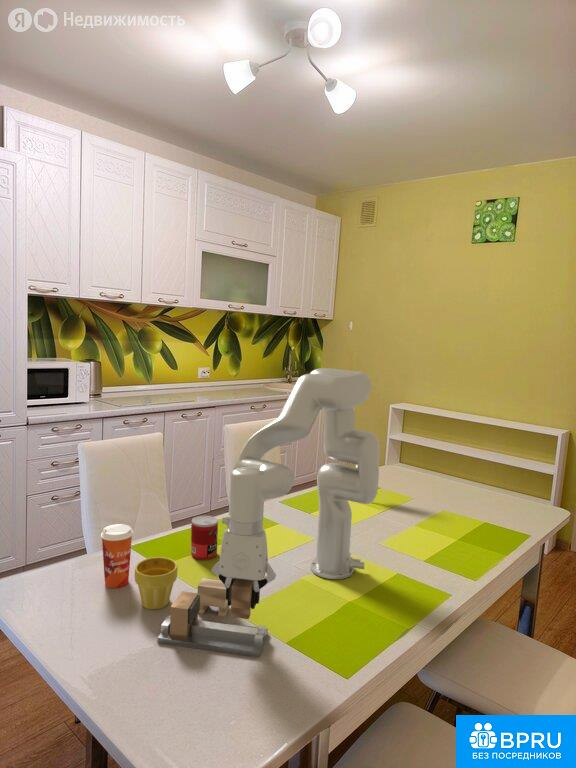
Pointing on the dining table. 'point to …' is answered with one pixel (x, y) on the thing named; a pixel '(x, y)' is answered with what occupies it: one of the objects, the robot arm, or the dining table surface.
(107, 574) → the coffee cup
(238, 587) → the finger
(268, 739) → the dining table surface
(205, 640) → the rail
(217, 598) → the tan notched block
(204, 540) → the canned food
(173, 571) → the plant pot
